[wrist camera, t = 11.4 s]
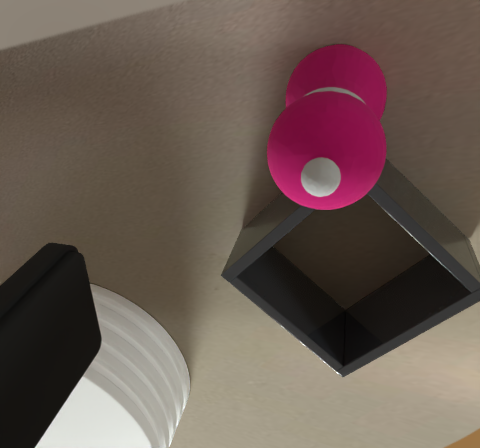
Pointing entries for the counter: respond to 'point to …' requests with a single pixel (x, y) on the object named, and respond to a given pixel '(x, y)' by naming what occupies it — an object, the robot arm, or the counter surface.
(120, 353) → the plate stack
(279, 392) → the counter surface
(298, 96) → the pepper mill
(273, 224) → the open box
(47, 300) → the robot arm
